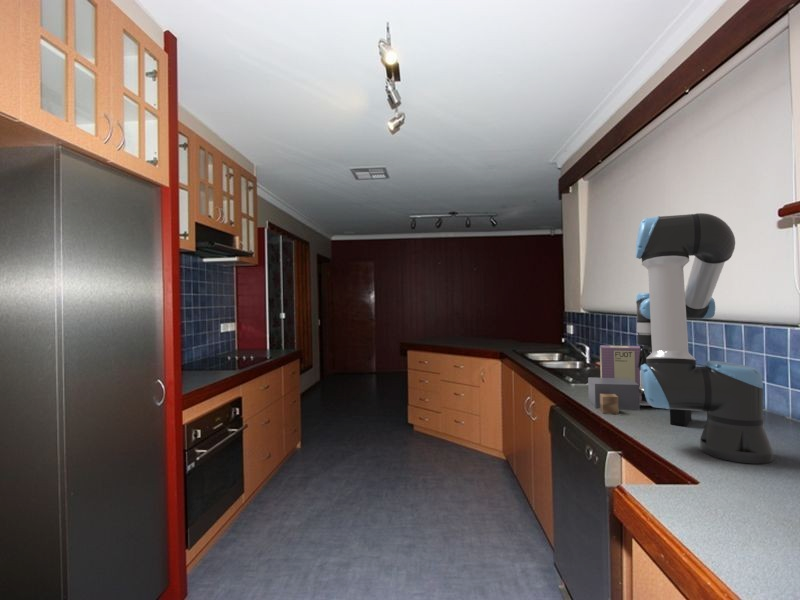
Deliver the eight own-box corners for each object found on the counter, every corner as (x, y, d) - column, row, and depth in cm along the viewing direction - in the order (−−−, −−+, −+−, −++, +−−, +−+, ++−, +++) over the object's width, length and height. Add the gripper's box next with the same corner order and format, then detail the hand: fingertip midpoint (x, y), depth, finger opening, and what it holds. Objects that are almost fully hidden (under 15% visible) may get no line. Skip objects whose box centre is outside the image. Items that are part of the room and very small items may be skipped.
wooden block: (603, 413, 156) (602, 396, 156) (600, 410, 161) (599, 393, 161) (618, 414, 155) (618, 397, 155) (615, 410, 160) (614, 394, 160)
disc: (666, 393, 164) (666, 388, 164) (653, 395, 161) (652, 391, 161) (646, 389, 172) (646, 385, 172) (632, 392, 168) (632, 387, 168)
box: (643, 392, 189) (642, 346, 189) (647, 397, 180) (646, 348, 180) (600, 390, 195) (599, 345, 195) (602, 394, 186) (601, 347, 186)
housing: (595, 408, 164) (594, 383, 164) (588, 399, 178) (588, 377, 178) (639, 409, 161) (639, 384, 161) (629, 401, 174) (628, 378, 174)
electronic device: (691, 420, 146) (691, 390, 146) (685, 427, 138) (684, 395, 138) (677, 418, 148) (676, 388, 148) (669, 424, 141) (669, 393, 141)
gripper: (671, 336, 153) (673, 397, 153) (649, 332, 178) (650, 385, 177) (647, 336, 155) (649, 396, 155) (628, 332, 179) (629, 384, 179)
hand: (649, 390), depth 166 cm, fingers open, 13 cm apart
